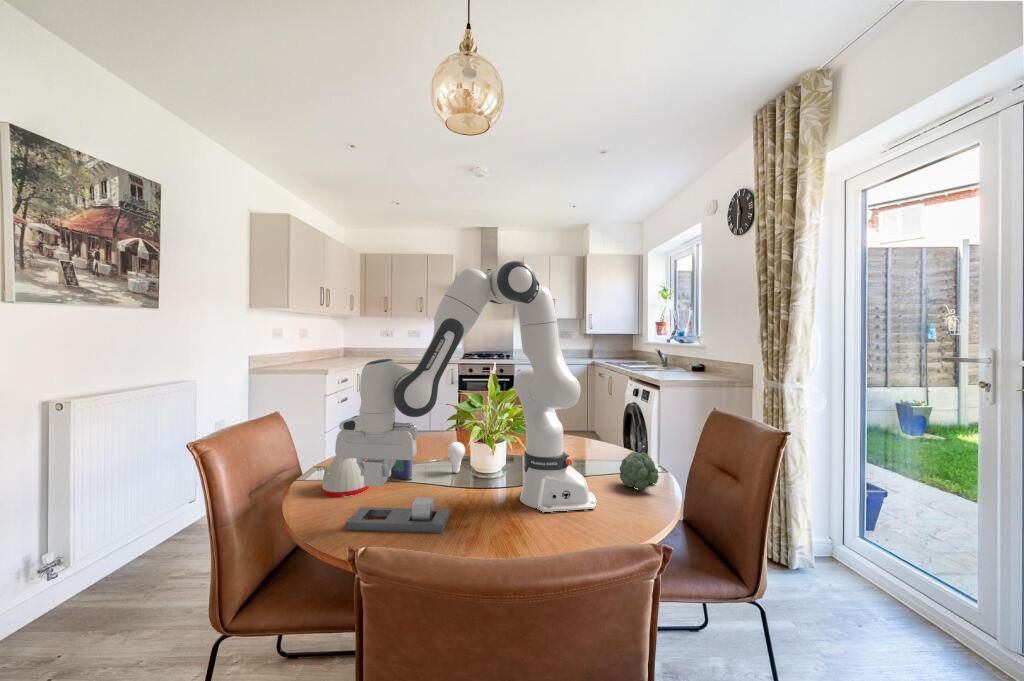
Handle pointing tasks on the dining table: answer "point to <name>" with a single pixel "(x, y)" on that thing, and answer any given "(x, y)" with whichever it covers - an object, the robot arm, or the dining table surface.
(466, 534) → the dining table surface
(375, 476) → the grey rectangular block
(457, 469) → the lightbulb
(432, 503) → the light gray block
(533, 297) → the robot arm
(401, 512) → the grey slotted board
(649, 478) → the vegetable
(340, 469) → the chicken hat
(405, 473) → the flask
